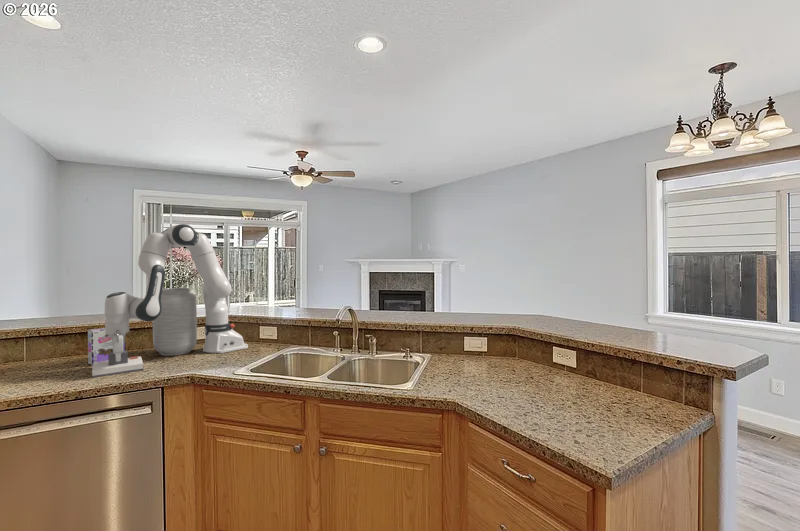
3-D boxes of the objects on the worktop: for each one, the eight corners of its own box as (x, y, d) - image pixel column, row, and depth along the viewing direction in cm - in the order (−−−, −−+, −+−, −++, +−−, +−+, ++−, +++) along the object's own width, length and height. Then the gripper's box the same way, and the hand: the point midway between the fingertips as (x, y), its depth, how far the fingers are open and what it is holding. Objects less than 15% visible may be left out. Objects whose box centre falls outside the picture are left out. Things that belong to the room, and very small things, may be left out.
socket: (141, 362, 190) (140, 354, 190) (143, 370, 177) (143, 362, 177) (93, 368, 180) (93, 361, 179) (92, 377, 167) (92, 369, 167)
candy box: (91, 366, 184) (91, 330, 184) (87, 364, 188) (87, 329, 187) (126, 359, 195) (125, 326, 195) (121, 358, 199) (121, 325, 198)
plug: (127, 363, 183) (127, 348, 182) (128, 366, 178) (127, 350, 178) (108, 366, 179) (108, 350, 178) (108, 369, 174) (108, 352, 174)
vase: (192, 346, 223) (191, 286, 223) (201, 353, 208) (200, 289, 207) (150, 352, 211) (149, 288, 210) (156, 359, 195) (155, 291, 194)
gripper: (126, 331, 171) (127, 363, 172) (125, 324, 188) (126, 353, 188) (108, 333, 168) (109, 365, 168) (108, 326, 184) (109, 355, 185)
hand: (118, 359), depth 178 cm, fingers open, 6 cm apart
